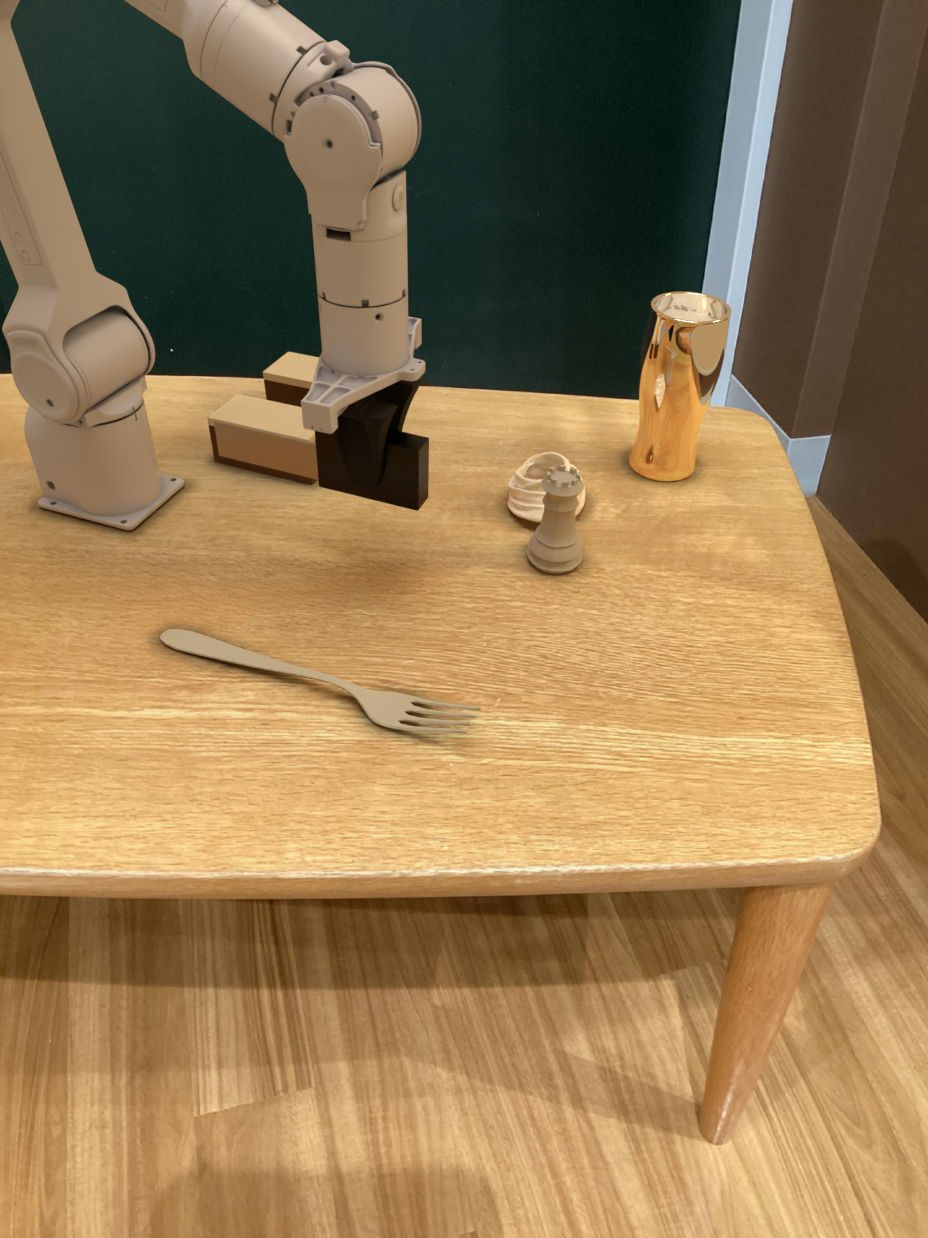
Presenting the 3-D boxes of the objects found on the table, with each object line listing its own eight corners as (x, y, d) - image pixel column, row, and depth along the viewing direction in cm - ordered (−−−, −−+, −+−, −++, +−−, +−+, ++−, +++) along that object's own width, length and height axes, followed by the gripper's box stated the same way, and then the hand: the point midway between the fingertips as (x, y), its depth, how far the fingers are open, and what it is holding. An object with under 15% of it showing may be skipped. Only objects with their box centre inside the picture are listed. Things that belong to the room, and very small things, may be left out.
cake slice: (267, 414, 91) (262, 371, 88) (292, 392, 95) (288, 351, 92) (359, 434, 88) (357, 390, 86) (381, 411, 92) (379, 369, 89)
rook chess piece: (579, 580, 72) (590, 493, 67) (522, 572, 73) (529, 485, 67) (584, 547, 75) (596, 462, 70) (530, 539, 76) (538, 454, 71)
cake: (214, 461, 84) (206, 417, 81) (243, 436, 88) (236, 392, 85) (312, 484, 81) (307, 439, 79) (337, 457, 85) (334, 413, 82)
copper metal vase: (710, 459, 86) (746, 302, 77) (682, 492, 82) (716, 330, 72) (642, 438, 89) (668, 283, 79) (611, 469, 85) (634, 309, 75)
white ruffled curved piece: (569, 547, 77) (580, 501, 73) (492, 525, 78) (499, 479, 74) (590, 492, 82) (600, 447, 79) (517, 472, 83) (525, 427, 80)
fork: (175, 621, 67) (171, 602, 66) (484, 722, 60) (485, 703, 59) (147, 648, 65) (142, 629, 64) (464, 756, 58) (465, 737, 57)
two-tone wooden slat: (428, 497, 68) (429, 437, 65) (418, 511, 66) (418, 450, 63) (226, 448, 72) (218, 389, 69) (212, 460, 70) (203, 401, 67)
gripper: (371, 345, 52) (380, 541, 61) (462, 262, 62) (458, 440, 71) (261, 325, 54) (285, 518, 63) (367, 247, 64) (375, 422, 73)
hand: (371, 475), depth 67 cm, fingers closed on two-tone wooden slat, 2 cm apart
